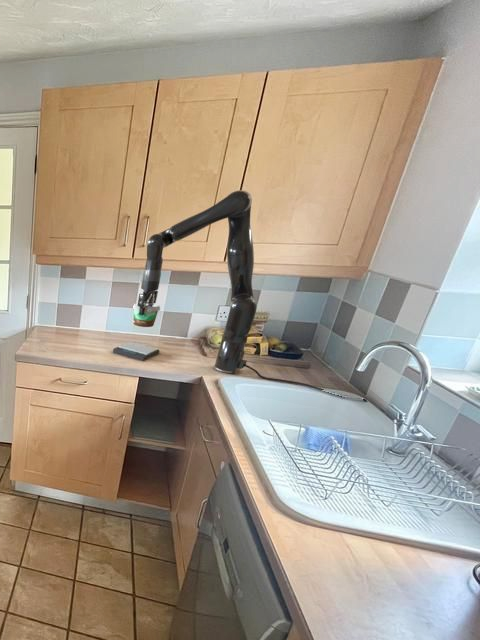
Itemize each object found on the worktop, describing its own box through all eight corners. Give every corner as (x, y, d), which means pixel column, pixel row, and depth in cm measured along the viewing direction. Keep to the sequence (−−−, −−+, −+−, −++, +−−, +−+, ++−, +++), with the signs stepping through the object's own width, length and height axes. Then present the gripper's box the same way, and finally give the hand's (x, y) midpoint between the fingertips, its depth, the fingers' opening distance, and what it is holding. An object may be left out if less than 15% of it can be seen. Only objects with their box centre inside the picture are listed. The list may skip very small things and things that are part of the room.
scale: (158, 353, 206) (159, 348, 205) (142, 361, 196) (144, 355, 195) (129, 346, 217) (129, 341, 216) (112, 352, 207) (113, 347, 206)
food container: (128, 325, 201) (131, 305, 197) (130, 322, 206) (133, 302, 202) (155, 329, 196) (159, 308, 192) (156, 325, 201) (160, 305, 197)
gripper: (151, 282, 185) (145, 318, 192) (166, 278, 194) (159, 313, 200) (135, 279, 190) (130, 315, 197) (150, 276, 199) (144, 310, 205)
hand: (144, 313), depth 199 cm, fingers closed on food container, 7 cm apart
